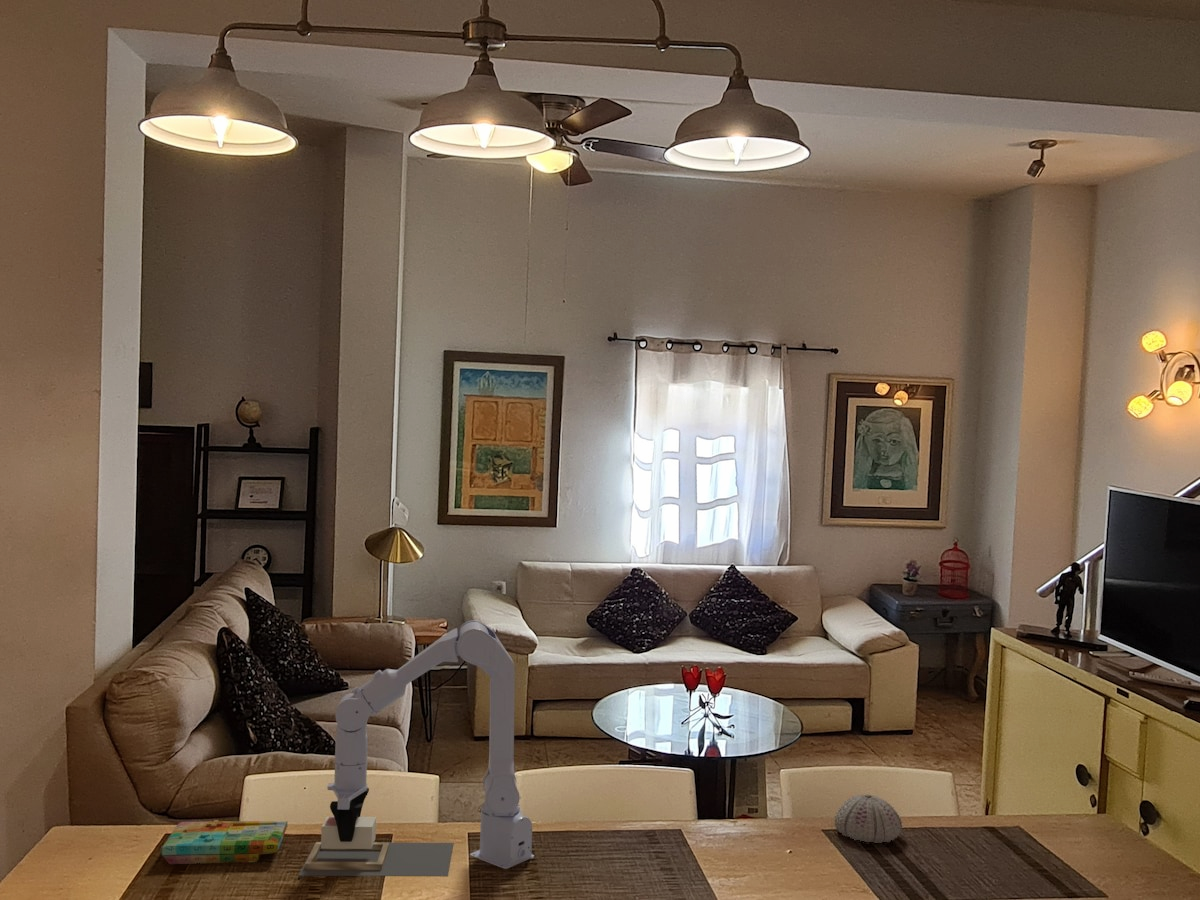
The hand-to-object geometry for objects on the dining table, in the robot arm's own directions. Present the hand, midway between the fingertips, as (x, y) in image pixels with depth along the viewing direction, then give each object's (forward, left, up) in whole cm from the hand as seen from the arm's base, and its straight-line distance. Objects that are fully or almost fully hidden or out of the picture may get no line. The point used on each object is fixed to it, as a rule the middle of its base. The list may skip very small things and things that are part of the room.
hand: (348, 835), depth 193 cm
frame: (0, 0, -5) cm, 5 cm away
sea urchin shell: (-66, -79, -5) cm, 103 cm away
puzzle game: (+19, +13, -5) cm, 24 cm away
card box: (0, 0, -2) cm, 2 cm away
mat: (-4, -4, -5) cm, 7 cm away
